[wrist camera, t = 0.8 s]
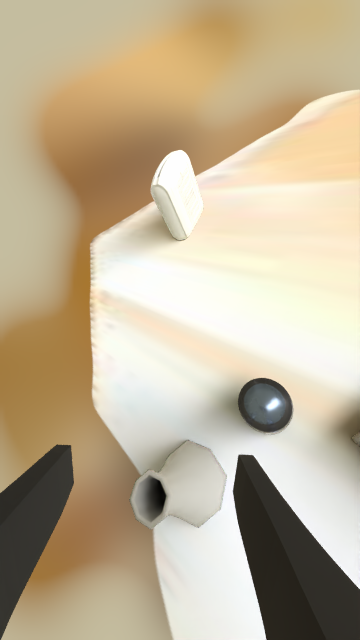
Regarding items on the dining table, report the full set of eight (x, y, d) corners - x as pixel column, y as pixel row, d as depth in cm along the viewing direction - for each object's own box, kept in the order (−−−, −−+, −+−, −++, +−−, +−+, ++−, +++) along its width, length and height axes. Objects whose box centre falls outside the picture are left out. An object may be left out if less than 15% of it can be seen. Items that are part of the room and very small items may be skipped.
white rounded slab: (189, 206, 48) (166, 145, 38) (207, 205, 46) (187, 139, 36) (171, 241, 45) (140, 183, 35) (189, 241, 43) (161, 179, 33)
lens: (301, 417, 23) (307, 409, 18) (266, 445, 23) (262, 445, 18) (268, 381, 25) (265, 366, 20) (236, 406, 25) (226, 397, 20)
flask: (151, 484, 25) (91, 503, 17) (186, 428, 26) (146, 421, 18) (201, 544, 21) (152, 607, 13) (239, 474, 22) (217, 491, 14)
